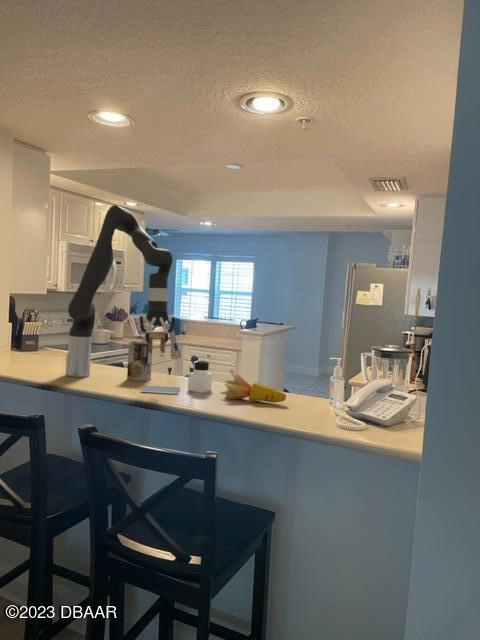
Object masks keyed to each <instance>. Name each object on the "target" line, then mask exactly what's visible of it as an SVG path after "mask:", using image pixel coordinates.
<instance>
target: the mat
mask: <svg viewBox="0 0 480 640" xmlns="http://www.w3.org/2000/svg"><path fill="white" fill-rule="evenodd" d="M180 390H181V386H168V385H153V384H151V385H149V384H145V386H144V387H143V388H142V390H141V391H140V393H142V394H143V393H144V394H157V395H158V394H159V395H172V396H173V395H175V396H176V395H177V396H178V395H179V392H180Z"/></svg>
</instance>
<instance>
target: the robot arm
mask: <svg viewBox="0 0 480 640" xmlns="http://www.w3.org/2000/svg"><path fill="white" fill-rule="evenodd" d="M116 230H117V231H119V232H123V233H125V234H126V235H128V236H130V237H131V240H132V244H133V245H134V246H135V247H136V248H137V249H138V251H139V252H141V254H142V256H143V259H144V261H145V263H146V264H147V265H149V266H151V267H158V269H157V271H155V272H152V273H150V274H149V278H148V292H147V314H146V315H139V317H138V318H139V326H140V331H141V332H142V333H145V337H144V338H145V342H147V343H149V331H151V329H152V327H156V326H158V327H162V329H163V331H164V332H165V344H167V342H169V333H172V332H174V328H175V322H176V317H175V316H169V315H168V300H169V295H168V292H169V291H168V278H169V275H170V272H171V268H172V264H173V259H174V258H173V254H172V252H171V251H170V250H169V249H167V248H166V249H165V248H160V247H159V248H158V243H157V242H156V240H154V239H153V237H152V236H150V235H149V234H148V233H147V232H146V231H145V230H144V229H143V227H142V226H141V224H140V223H139V222H138V220H137V219H136V217H135V216H134V214H133V213H132V212H130V211H129V210H127V209H126V208H123V207H121V206H119V205H117V204H112V205H111V206H110V207H109V209H108V210H107V212H106V214H105V217H104V219H103V223H102V226H101V230H100V232H99V236H98V238H97V241H96V243H95V246H94V249H93V251H92V252H91V254H90V257H89V260H88V262H87V264H86V267H85V270H84V273H83V275H82V277H81V279H80V284H79V286H78V287H77V290H76V292H75V293H74V295H73V296H72V298H71V300H70V302H69V305H68V309H67V311H68V316H69V317H70V318H71V319H72V326H71V327H70V328H69V334H68V352H67V353H66V358H65V359H66V361H65V376H66V377H72V378H73V377H74V378H85V377H89V376H90V375H91V359H92V358H91V357H92V356H91V355H92V338H93V331H94V329H95V328H94V327H95V319H96V317H95V316H96V308H95V304H94V302H93V300H94V297H95V295H96V292H97V291H98V289H99V288H100V287H101V285H102V284H103V283H104V282H105V280H106V279H107V276H108V275H109V273H110V270H111V269H112V265H113V263H114V250H113V238H114V237H113V236H114V234H115V231H116ZM146 320H147V321H148V322H149V323H148V325H147V326H146V328H145V324H144V322H145V321H146ZM167 321H169V322H170V324H169V329H168V328H167V326H166V322H167Z"/></svg>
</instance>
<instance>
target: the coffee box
mask: <svg viewBox="0 0 480 640" xmlns="http://www.w3.org/2000/svg"><path fill="white" fill-rule="evenodd" d="M153 343H154V342H152V347H153V346H154V345H153ZM152 362H153V352H152V353H149V351H148V343H147V341H130V342H128V354H127V376H126V380H129V379H132V380H131V381H142V382H143V381H144V382H145V381H146V382H147V381H150V380H151V379H152V364H153V363H152Z"/></svg>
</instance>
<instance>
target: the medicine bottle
mask: <svg viewBox="0 0 480 640" xmlns="http://www.w3.org/2000/svg"><path fill="white" fill-rule="evenodd" d="M209 367H210V363H209V362H208V361H206V360H195V361H194V362H193V372H189V373H188V379H187V380H188V383H187V391H189V392H195V393H201V394H204V393H208V392H211V391H212V385H213V373H212V372H209Z"/></svg>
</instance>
